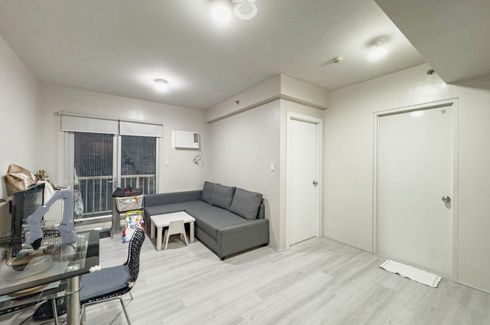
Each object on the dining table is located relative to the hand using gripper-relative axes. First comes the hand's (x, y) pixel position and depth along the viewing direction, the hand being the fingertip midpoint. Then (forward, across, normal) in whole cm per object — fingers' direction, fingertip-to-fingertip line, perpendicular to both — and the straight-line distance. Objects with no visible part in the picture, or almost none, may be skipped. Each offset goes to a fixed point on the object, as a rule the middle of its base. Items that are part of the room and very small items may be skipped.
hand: (37, 249), depth 149 cm
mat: (+4, -8, 0) cm, 9 cm away
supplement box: (+4, -21, -10) cm, 23 cm away
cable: (+2, 0, 0) cm, 2 cm away
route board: (+4, 0, 0) cm, 4 cm away
